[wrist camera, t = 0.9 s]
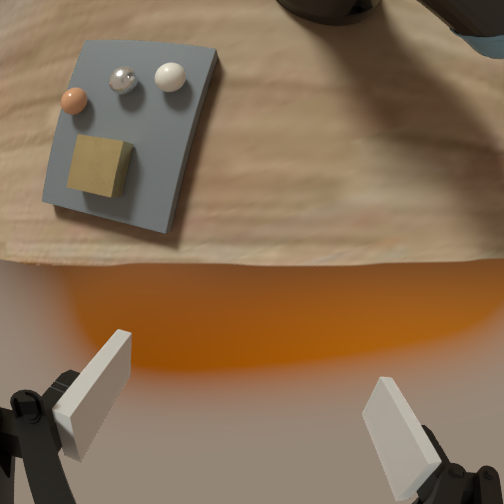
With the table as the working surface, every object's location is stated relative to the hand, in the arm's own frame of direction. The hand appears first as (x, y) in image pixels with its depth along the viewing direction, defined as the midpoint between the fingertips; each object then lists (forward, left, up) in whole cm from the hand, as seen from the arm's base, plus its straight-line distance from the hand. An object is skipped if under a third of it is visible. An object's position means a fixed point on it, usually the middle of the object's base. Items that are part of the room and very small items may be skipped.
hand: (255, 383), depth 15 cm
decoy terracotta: (-15, -26, -19) cm, 35 cm away
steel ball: (-18, -20, -19) cm, 33 cm away
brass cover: (-8, -20, -21) cm, 29 cm away
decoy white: (-19, -14, -19) cm, 30 cm away
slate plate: (-13, -20, -23) cm, 33 cm away
